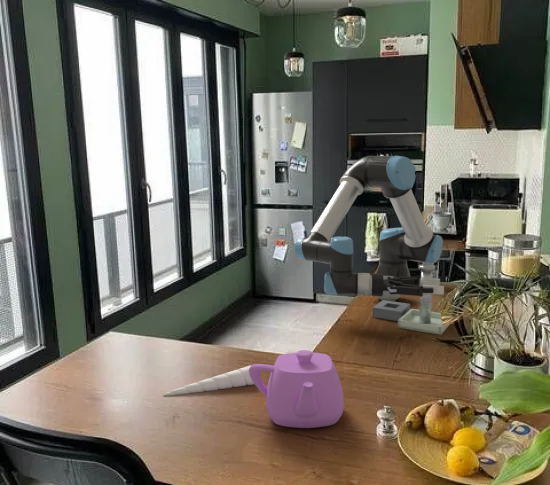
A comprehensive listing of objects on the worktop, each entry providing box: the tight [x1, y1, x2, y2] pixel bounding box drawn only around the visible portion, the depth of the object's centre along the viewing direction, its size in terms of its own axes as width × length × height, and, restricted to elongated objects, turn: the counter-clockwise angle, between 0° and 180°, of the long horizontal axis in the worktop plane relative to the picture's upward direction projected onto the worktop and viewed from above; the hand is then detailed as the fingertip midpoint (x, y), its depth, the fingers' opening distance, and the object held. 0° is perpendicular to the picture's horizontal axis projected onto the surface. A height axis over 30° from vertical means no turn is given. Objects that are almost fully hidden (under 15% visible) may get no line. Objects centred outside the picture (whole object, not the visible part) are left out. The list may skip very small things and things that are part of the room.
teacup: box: [376, 276, 402, 302], centre depth 208 cm, size 14×11×8 cm
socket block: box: [372, 300, 411, 322], centre depth 190 cm, size 10×10×4 cm
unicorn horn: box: [162, 364, 255, 397], centre depth 137 cm, size 5×24×5 cm, turn 104°
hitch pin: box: [418, 263, 436, 324], centre depth 178 cm, size 5×5×19 cm
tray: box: [397, 308, 452, 336], centre depth 180 cm, size 14×14×2 cm
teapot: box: [249, 349, 345, 429], centre depth 118 cm, size 23×21×15 cm
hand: (441, 286), depth 177 cm, fingers open, 8 cm apart
